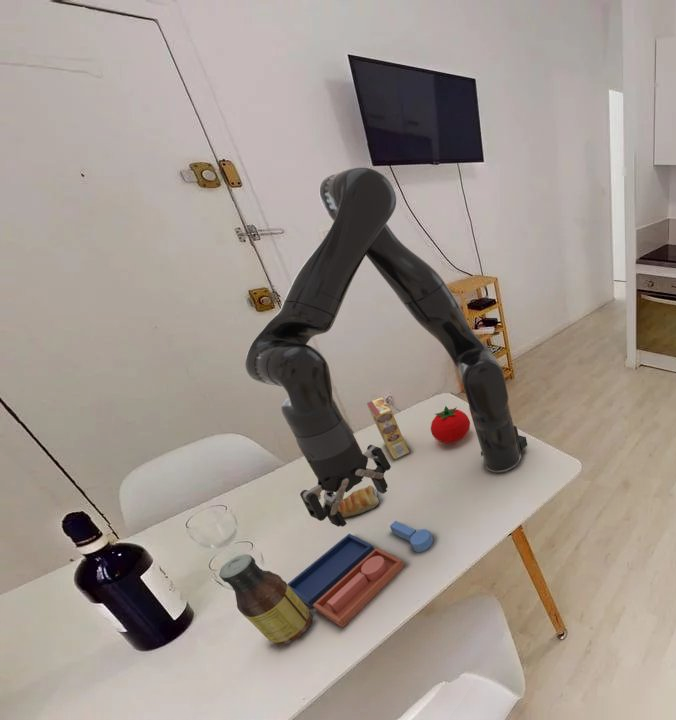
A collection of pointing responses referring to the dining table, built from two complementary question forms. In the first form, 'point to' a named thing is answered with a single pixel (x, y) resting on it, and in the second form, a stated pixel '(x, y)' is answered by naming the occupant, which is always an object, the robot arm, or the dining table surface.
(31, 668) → the dining table surface
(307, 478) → the dining table surface
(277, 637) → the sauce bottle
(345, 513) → the pastry
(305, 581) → the blue tray
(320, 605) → the rose tray
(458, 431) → the tomato
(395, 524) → the blue spoon
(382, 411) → the candy box
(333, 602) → the rose spoon
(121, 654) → the dining table surface
